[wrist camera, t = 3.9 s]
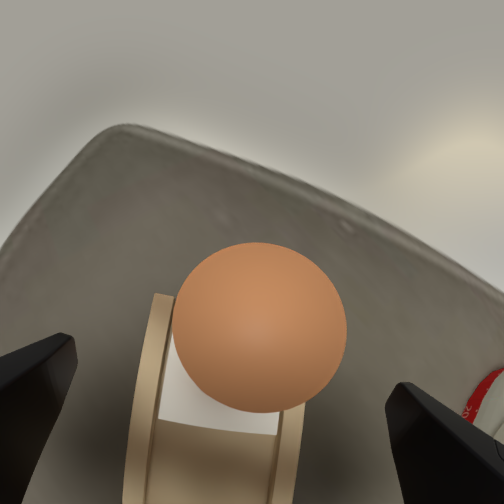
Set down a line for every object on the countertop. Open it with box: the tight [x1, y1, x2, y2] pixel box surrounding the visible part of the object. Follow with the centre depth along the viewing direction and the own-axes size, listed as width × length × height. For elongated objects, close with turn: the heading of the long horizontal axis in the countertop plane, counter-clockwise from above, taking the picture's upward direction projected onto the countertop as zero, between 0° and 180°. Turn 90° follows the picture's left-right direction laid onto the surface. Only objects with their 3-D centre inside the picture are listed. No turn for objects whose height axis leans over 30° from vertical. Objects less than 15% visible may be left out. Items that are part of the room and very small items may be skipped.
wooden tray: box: [122, 293, 305, 504], centre depth 11 cm, size 17×8×3 cm, turn 173°
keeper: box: [158, 243, 347, 435], centre depth 10 cm, size 6×5×10 cm
